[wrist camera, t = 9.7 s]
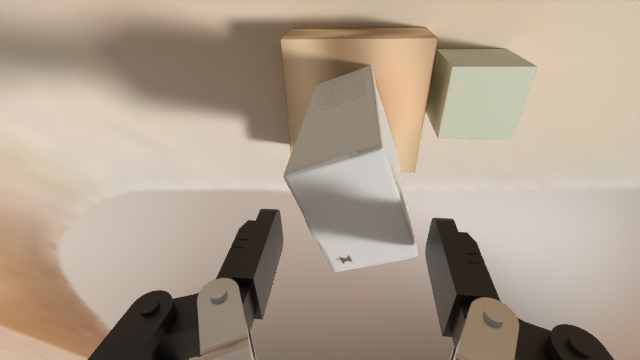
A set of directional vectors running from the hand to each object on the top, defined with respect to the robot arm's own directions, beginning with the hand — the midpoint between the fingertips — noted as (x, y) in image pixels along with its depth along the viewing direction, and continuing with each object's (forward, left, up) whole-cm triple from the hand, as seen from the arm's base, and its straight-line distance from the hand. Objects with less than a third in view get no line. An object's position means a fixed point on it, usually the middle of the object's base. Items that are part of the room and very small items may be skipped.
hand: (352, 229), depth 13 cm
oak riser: (0, 0, -16) cm, 16 cm away
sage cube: (-8, -1, -16) cm, 18 cm away
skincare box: (0, 0, -12) cm, 12 cm away
